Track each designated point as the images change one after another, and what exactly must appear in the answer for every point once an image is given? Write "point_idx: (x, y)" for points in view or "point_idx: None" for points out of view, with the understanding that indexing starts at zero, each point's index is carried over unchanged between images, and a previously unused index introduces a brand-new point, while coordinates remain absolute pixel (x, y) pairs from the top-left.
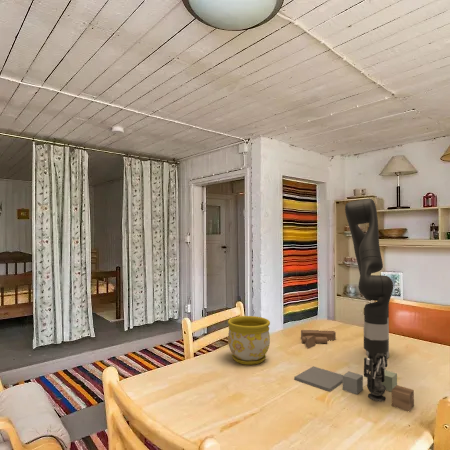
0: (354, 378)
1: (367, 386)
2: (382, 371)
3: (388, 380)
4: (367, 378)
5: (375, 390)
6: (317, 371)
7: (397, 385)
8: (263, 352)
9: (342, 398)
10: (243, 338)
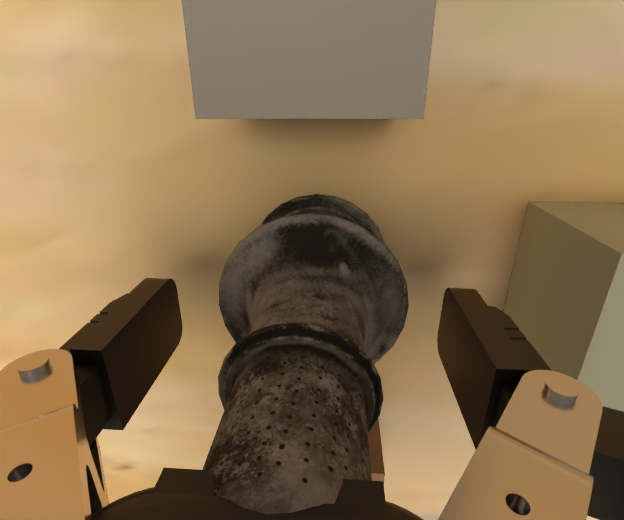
0: (209, 68)
1: (140, 285)
2: (476, 432)
3: (552, 352)
4: (80, 342)
5: (226, 318)
6: None
7: (377, 479)
8: None
9: (62, 35)
10: None
